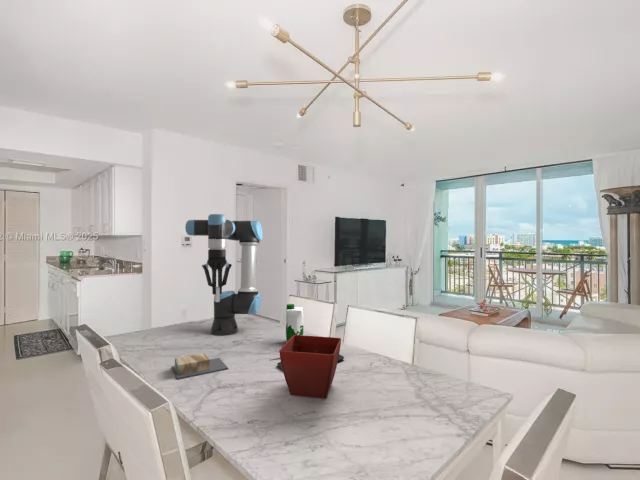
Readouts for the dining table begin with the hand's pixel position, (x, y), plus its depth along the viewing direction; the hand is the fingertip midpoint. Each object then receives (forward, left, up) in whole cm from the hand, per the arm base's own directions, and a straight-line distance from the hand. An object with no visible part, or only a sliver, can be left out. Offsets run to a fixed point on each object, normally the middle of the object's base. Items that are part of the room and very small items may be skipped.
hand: (217, 301), depth 155 cm
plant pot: (-21, +48, -27) cm, 59 cm away
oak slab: (+6, +6, -24) cm, 25 cm away
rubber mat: (+9, +6, -26) cm, 28 cm away
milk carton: (-41, -4, -27) cm, 49 cm away
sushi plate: (-33, +17, -27) cm, 46 cm away
